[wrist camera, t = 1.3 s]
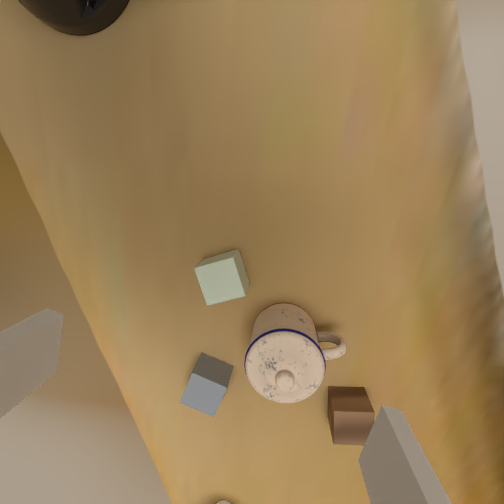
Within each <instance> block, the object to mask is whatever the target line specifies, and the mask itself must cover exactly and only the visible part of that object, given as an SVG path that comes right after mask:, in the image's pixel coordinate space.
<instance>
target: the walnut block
mask: <svg viewBox="0 0 504 504" xmlns="http://www.w3.org/2000/svg"><path fill="white" fill-rule="evenodd" d="M374 414H375V412H374V410H373V408H372V405H371V403H370V401H369V398H368V396H367V393H366V391H365V389H364V387H332V386H328V420H329V425H330V430H331V435H332V439H333V444H342V445H365V443H366V441H367V438H368V436H369V434H370V431H371V429H372V427H373V424H374Z"/></svg>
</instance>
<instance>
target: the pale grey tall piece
mask: <svg viewBox="0 0 504 504" xmlns="http://www.w3.org/2000/svg"><path fill="white" fill-rule="evenodd" d="M216 504H231V503H230V502H228V501H225V500H222V501H219V502H217V503H216Z"/></svg>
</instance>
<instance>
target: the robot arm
mask: <svg viewBox="0 0 504 504" xmlns="http://www.w3.org/2000/svg"><path fill="white" fill-rule="evenodd" d="M19 1H20V3H21V4H22V5H23V6H24V7H25V8H26V9H27V10H28V11H30V12H31V13H32V14H33V15H35V16H36V17H37V18H39V19H40V20H42V21H43V22H45V23H46V24H47V25H49V26H50V27H52V28H54V29H56V30H58V31H61V32H63V33H67V34H72V35H86V34H91V33H95V32H97V31H100V30H102V29H103V28H105V27H107V26H108V25H110V24H111V23H112V22H113V21H114V20H115V19H116V18H117V17H118V16H119V15H120V14H121V12H122V11H123V9H124V8H125V6H126V4H127V3H128V1H129V0H19ZM63 317H64V313H61V312H58V311H54V310H50V309H47V308H46V309H44V310H42V311H40V312H38V313H36V314H34V315H32V316H30V317H28V318H26V319H24V320H22V321H20V322H19V323H17V324H15V325H13V326H11V327H9V328H7V329H5V330H3V331H1V332H0V418H1V417H2V416H4V415H5V414H6V413H7V412H8V411H10V410H11V409H12V408H13V407H14V406H16V405H17V404H18V403H19V402H21V401H22V400H23V399H24V398H25V397H26V396H28V395H29V394H30V393H31V392H32V391H34V390H35V389H36V388H37V387H39V386H40V385H41V384H42V383H44V382H45V381H46V380H47V379H48V378H49V377H51V376H52V375H53V374H54V373H56V372H57V369H58V360H59V351H60V343H61V333H62V326H63ZM359 464H360V467H361V471H362V474H363V478H364V481H365V485H366V488H367V492H368V495H369V499H370V502H371V504H452V503H451V501H450V500H449V498H448V496H447V494H446V492H445V490H444V488H443V487H442V485H441V483H440V481H439V479H438V477H437V475H436V474H435V472H434V470H433V468H432V466H431V464H430V462H429V461H428V459H427V457H426V455H425V453H424V451H423V450H422V448H421V446H420V444H419V442H418V440H417V438H416V437H415V435H414V433H413V431H412V429H411V427H410V425H409V424H408V422H407V420H406V418H405V416H404V414H403V412H402V411H401V410H399V409H396V408H392V407H389V406H386V405H381V408H380V410H379V412H378V415H377V417H376V419H375V422H374V424H373V427H372V429H371V431H370V434H369V436H368V438H367V441H366V443H365V445H364V448H363V450H362V453H361V455H360V457H359Z"/></svg>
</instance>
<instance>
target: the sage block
mask: <svg viewBox="0 0 504 504" xmlns="http://www.w3.org/2000/svg"><path fill="white" fill-rule="evenodd" d="M194 270H195V273H196V276H197V278H198V281H199V284H200V287H201V290H202V293H203V295H204V298H205V301H206V304H207V306H208V305H212V304H216V303H220V302H224V301H228V300H232V299H235V298H239V297H243V296H246V293H247V290H248V286H249V280H248V277H247V274H246V271H245V267H244V264H243V261H242V258H241V255H240V252H239V249H236V250H233V251H229V252H226V253H222V254H219V255H215V256H212V257H208V258H205V259H203V260H202V261H201V262H200V263H199V264H198V265H197V266H196V267H195V268H194Z"/></svg>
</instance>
